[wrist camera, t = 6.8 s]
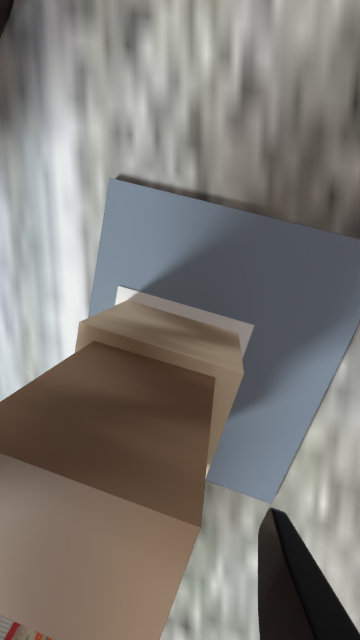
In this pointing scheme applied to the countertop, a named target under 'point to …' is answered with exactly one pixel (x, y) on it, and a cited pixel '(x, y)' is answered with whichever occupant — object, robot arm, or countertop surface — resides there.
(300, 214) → the countertop surface
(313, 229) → the building mat
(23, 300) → the countertop surface
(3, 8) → the manual coffee grinder
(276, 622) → the robot arm
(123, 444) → the brown block
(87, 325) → the maple base block
